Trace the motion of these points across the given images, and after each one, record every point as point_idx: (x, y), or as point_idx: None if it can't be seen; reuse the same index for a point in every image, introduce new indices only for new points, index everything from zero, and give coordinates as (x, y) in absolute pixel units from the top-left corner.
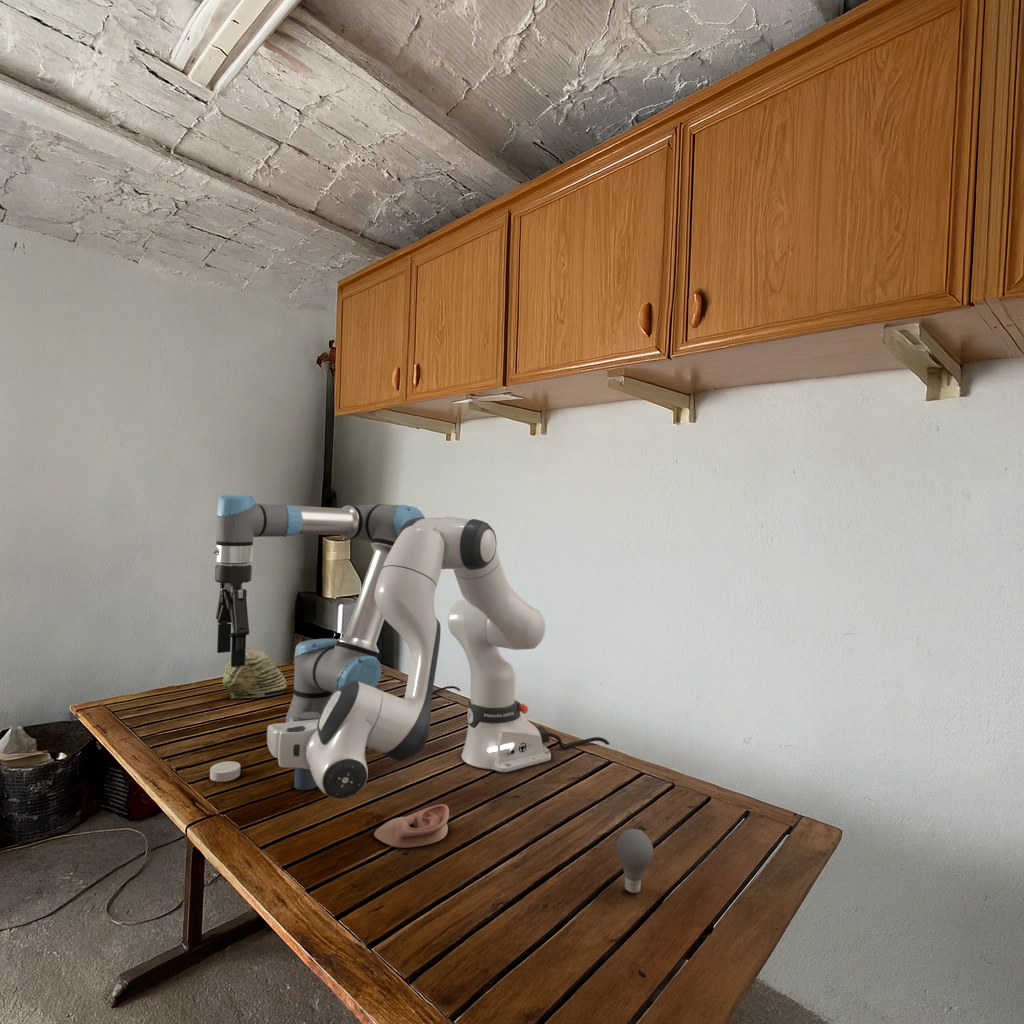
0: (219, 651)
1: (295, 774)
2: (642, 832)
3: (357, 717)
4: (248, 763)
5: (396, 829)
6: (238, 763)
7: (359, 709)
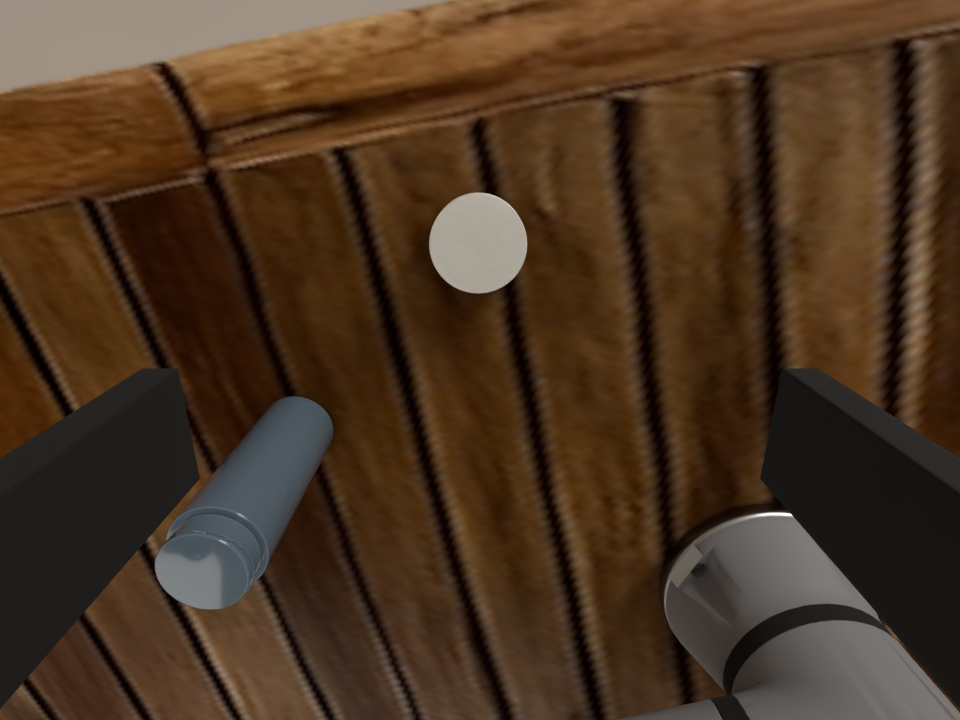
0: (785, 389)
1: (277, 413)
2: None
3: None
4: (537, 327)
5: None
6: (485, 289)
7: None
